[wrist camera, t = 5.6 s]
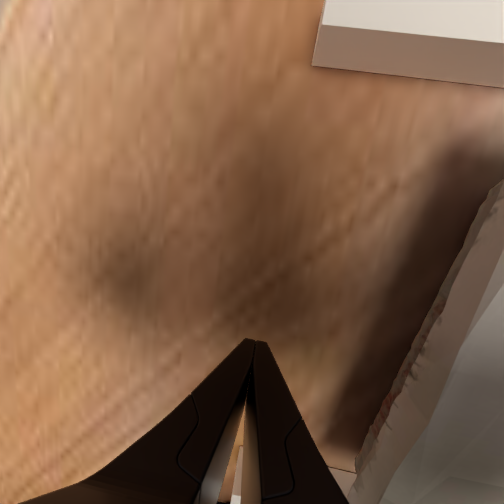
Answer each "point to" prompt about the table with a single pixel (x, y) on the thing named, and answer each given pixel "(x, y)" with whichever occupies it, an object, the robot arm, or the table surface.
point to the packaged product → (448, 389)
